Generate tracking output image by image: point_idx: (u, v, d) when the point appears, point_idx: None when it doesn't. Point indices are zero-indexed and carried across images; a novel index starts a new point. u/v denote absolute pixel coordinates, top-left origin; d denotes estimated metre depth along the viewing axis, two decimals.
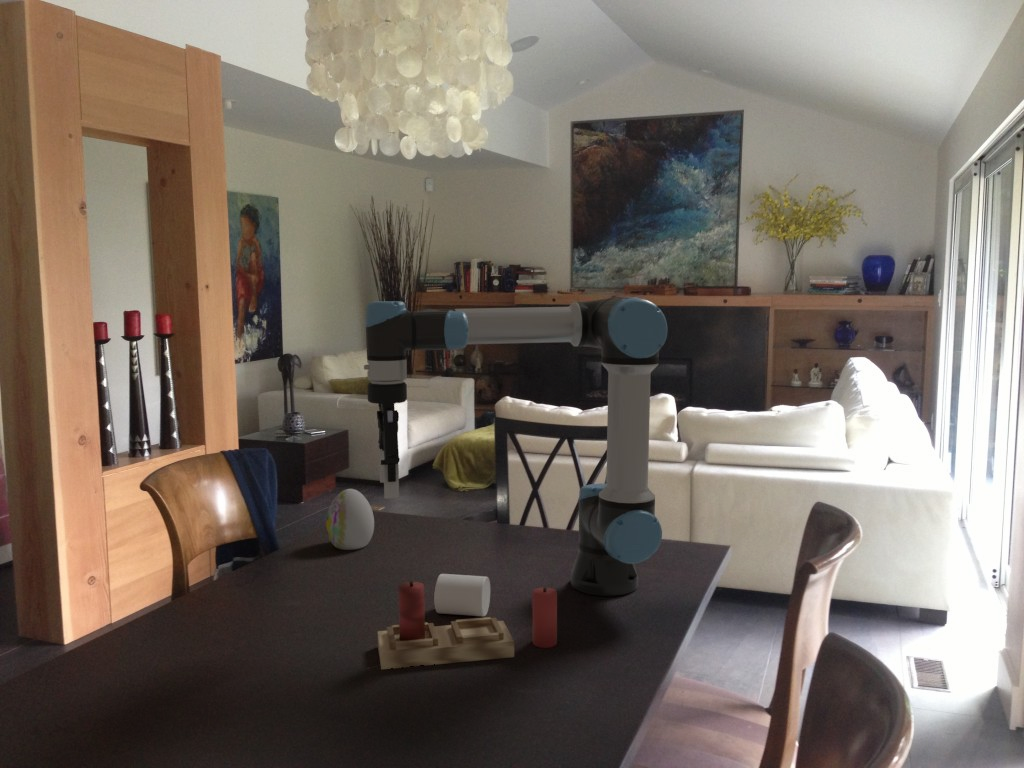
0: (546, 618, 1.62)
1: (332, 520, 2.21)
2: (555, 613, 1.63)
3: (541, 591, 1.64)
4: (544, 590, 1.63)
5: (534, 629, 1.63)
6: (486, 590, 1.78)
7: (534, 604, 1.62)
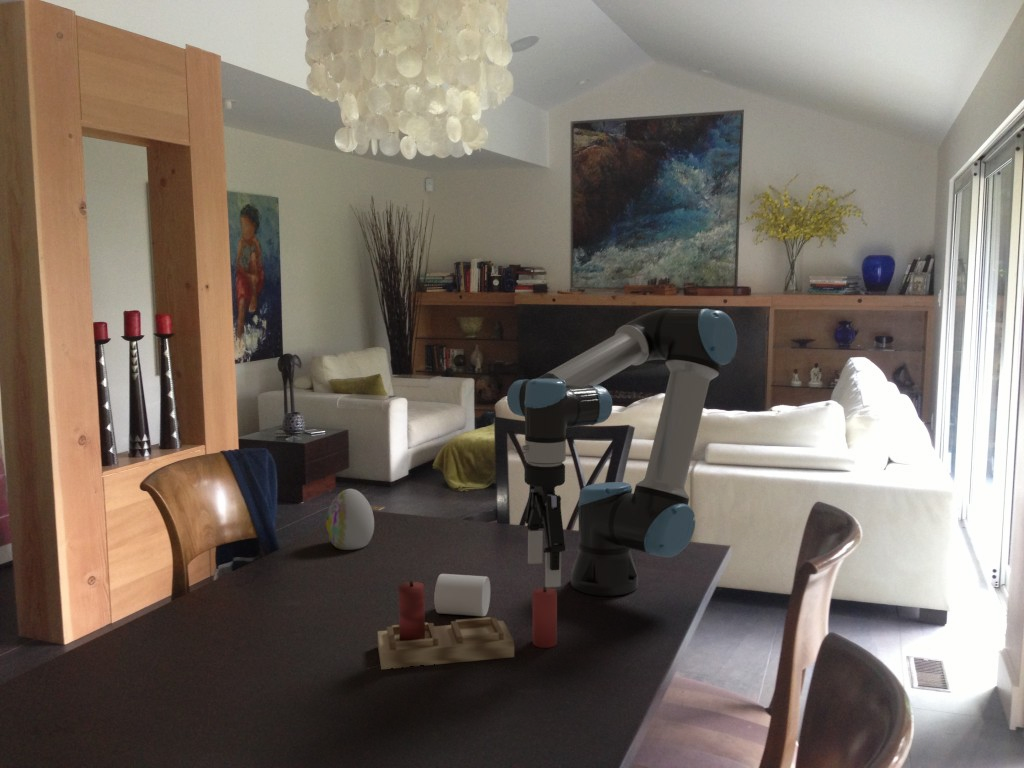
0: (546, 618, 1.62)
1: (332, 520, 2.21)
2: (555, 613, 1.63)
3: (541, 591, 1.64)
4: (544, 590, 1.63)
5: (534, 629, 1.63)
6: (486, 590, 1.78)
7: (534, 604, 1.62)
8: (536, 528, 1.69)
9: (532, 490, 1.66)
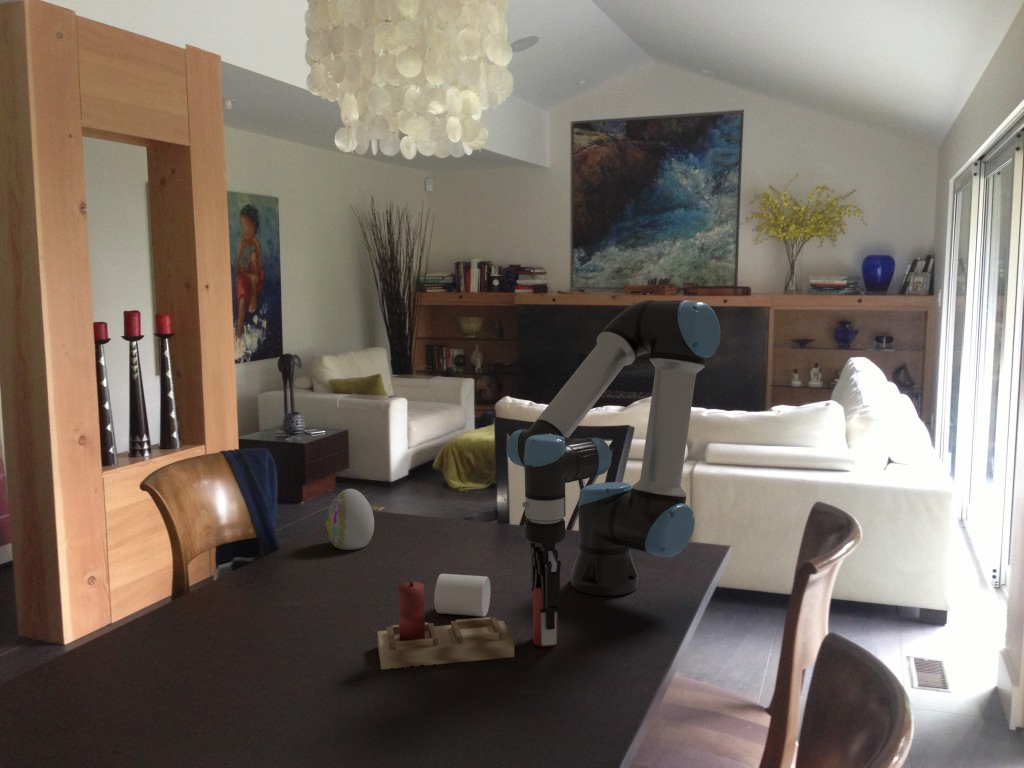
0: None
1: (332, 520, 2.21)
2: None
3: (541, 590, 1.64)
4: None
5: (535, 628, 1.63)
6: (486, 590, 1.78)
7: (534, 603, 1.62)
8: None
9: None
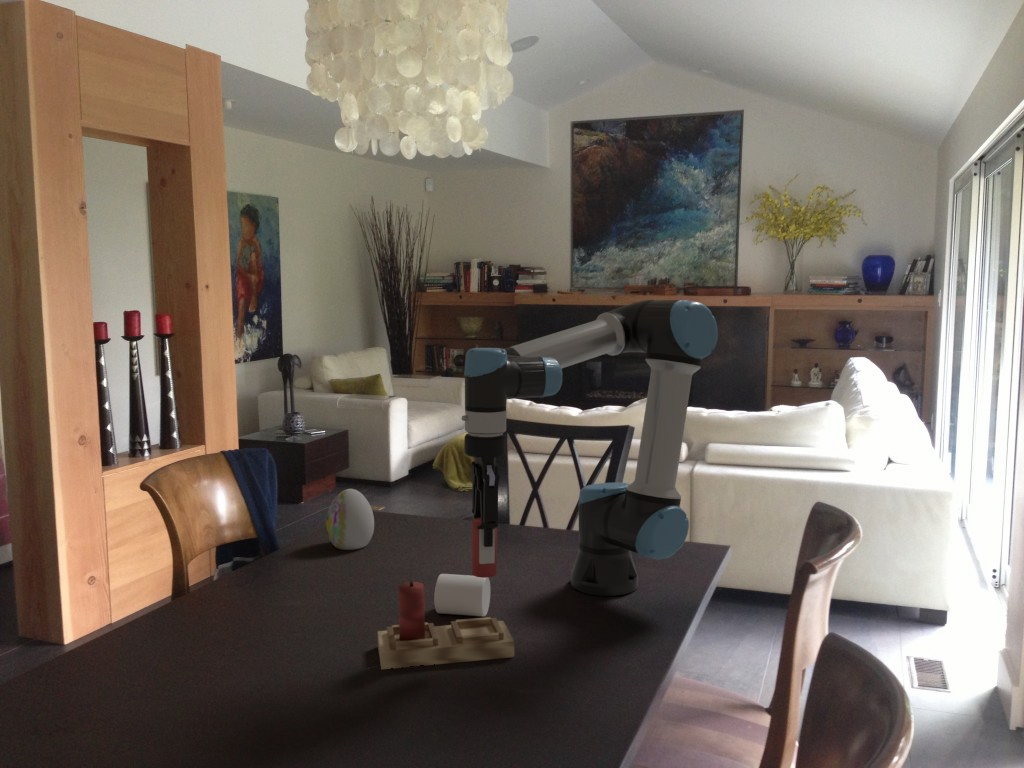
0: None
1: (332, 520, 2.21)
2: (495, 542, 1.58)
3: (480, 520, 1.59)
4: None
5: (473, 559, 1.59)
6: (486, 590, 1.78)
7: (473, 533, 1.58)
8: None
9: None
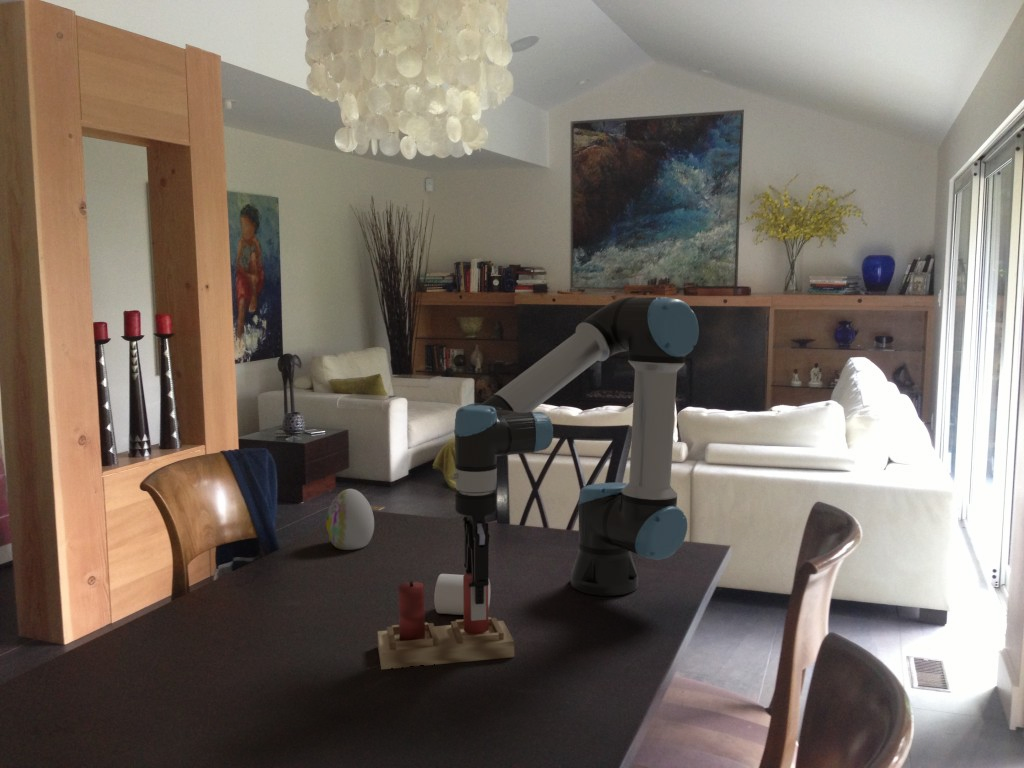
0: None
1: (332, 520, 2.21)
2: (486, 598, 1.59)
3: None
4: None
5: (465, 615, 1.60)
6: None
7: (464, 589, 1.59)
8: None
9: None
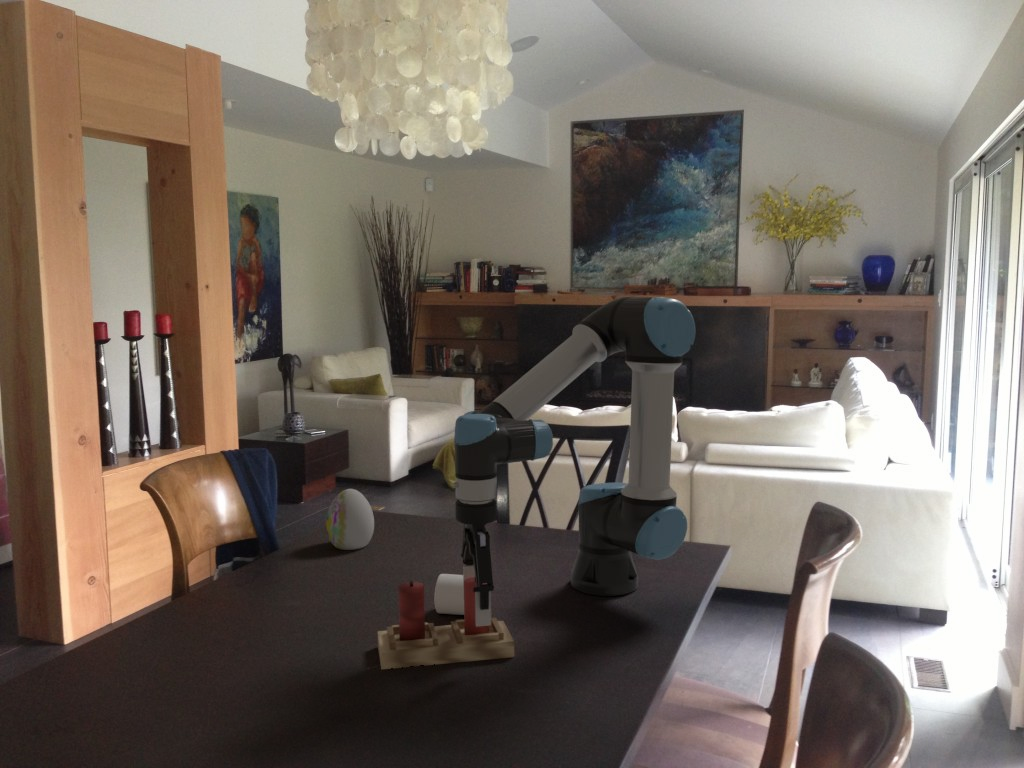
0: None
1: (332, 520, 2.21)
2: None
3: (472, 580, 1.61)
4: (475, 579, 1.60)
5: (465, 619, 1.60)
6: None
7: (465, 594, 1.59)
8: (471, 563, 1.67)
9: (466, 525, 1.64)
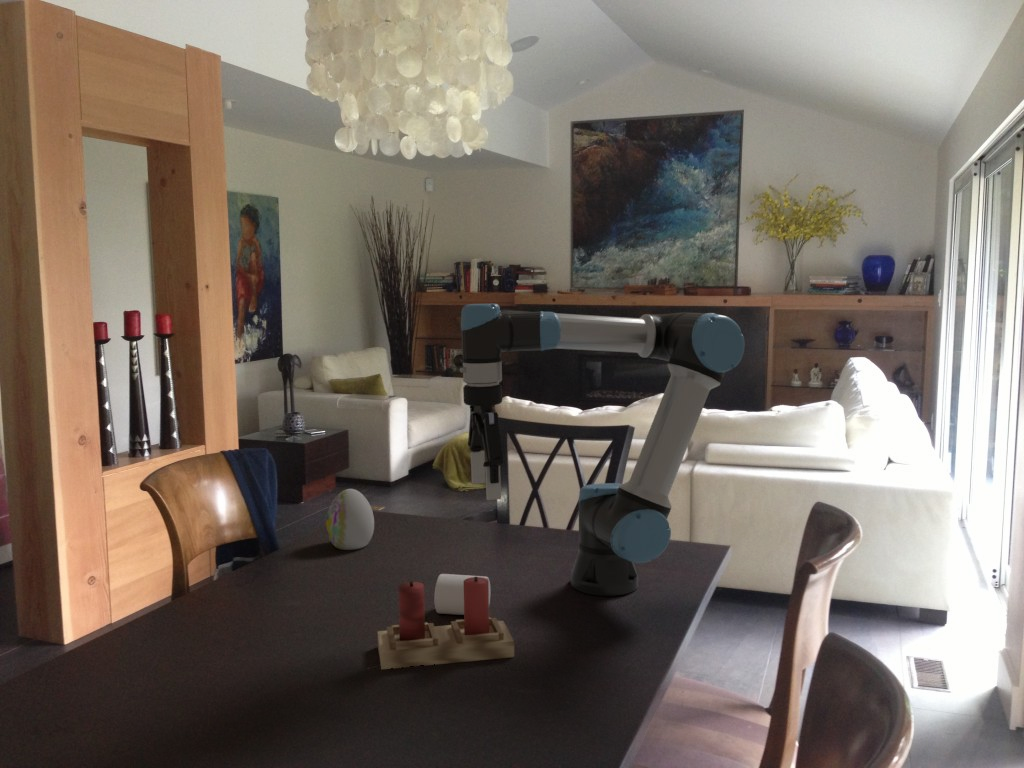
0: (477, 607, 1.58)
1: (332, 520, 2.21)
2: (486, 603, 1.60)
3: (472, 580, 1.60)
4: (475, 579, 1.60)
5: (465, 619, 1.60)
6: None
7: (465, 594, 1.59)
8: (478, 450, 1.77)
9: (472, 412, 1.74)
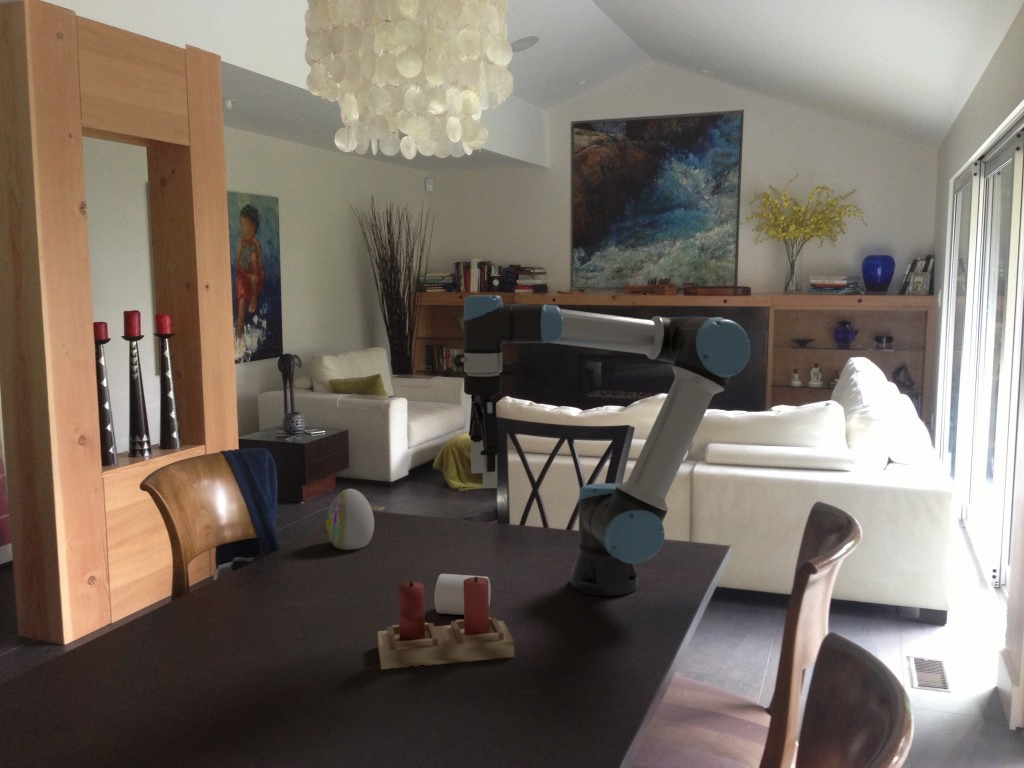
0: (477, 608, 1.58)
1: (332, 520, 2.21)
2: (486, 603, 1.60)
3: (472, 580, 1.60)
4: (475, 580, 1.60)
5: (465, 619, 1.60)
6: None
7: (465, 594, 1.59)
8: (478, 440, 1.79)
9: (473, 402, 1.76)
